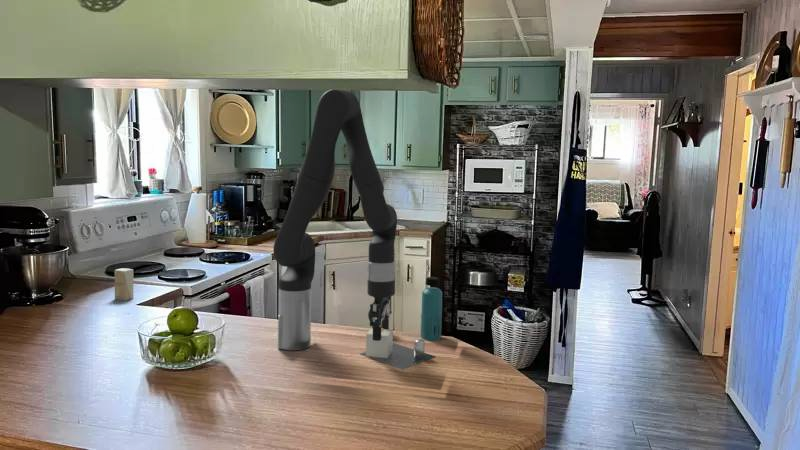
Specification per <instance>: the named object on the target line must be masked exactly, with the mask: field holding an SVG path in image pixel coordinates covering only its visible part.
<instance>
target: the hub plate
mask: <svg viewBox="0 0 800 450" xmlns="http://www.w3.org/2000/svg"><path fill="white" fill-rule="evenodd" d="M413 343H414V344H413V348H410V347H407V346H405V345H401V344H397V343H396V342H393V343H392V352H391V354H390V355H389V357H388V358H380V357H370V356H366V351H365V352H361V353H359V355H360V356H363V357H366V358H369V359H372V360H373V361H374V360H375V361H376V362H380V363H383V364H386V365H388V366H392V367H394V368H397V369H399V370H402V371H403V370H405V369H408V368H411V367H413V366H416V365H419V364H421V363H424V362H427V361H429V360H432V359H434V358H436V357H437V356H436V355H432V354H429V353H426V352H425V339H422V338H417V339H414V342H413Z"/></svg>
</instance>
